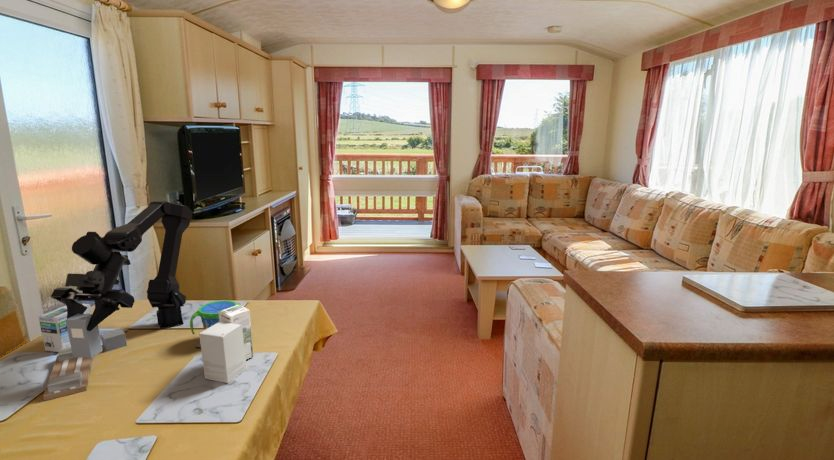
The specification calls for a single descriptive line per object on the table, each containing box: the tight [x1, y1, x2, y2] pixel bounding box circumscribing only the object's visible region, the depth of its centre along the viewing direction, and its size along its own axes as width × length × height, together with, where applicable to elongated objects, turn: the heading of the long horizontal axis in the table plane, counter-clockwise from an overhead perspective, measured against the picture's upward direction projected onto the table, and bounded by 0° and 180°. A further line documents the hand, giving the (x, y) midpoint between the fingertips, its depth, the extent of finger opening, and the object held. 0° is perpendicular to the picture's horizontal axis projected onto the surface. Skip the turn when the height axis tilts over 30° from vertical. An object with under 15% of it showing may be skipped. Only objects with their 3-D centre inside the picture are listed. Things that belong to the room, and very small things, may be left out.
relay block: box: [100, 328, 128, 353], centre depth 128 cm, size 5×4×4 cm
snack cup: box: [189, 300, 242, 335], centre depth 132 cm, size 16×11×10 cm
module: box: [66, 313, 103, 358], centre depth 110 cm, size 4×5×10 cm
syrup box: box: [218, 304, 254, 361], centre depth 120 cm, size 6×6×14 cm
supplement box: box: [198, 322, 248, 384], centre depth 113 cm, size 7×7×13 cm
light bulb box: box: [38, 303, 93, 353], centre depth 129 cm, size 11×7×11 cm, turn 168°
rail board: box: [43, 347, 94, 401], centre depth 114 cm, size 22×8×3 cm, turn 32°
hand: (78, 330), depth 109 cm, fingers closed on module, 5 cm apart
